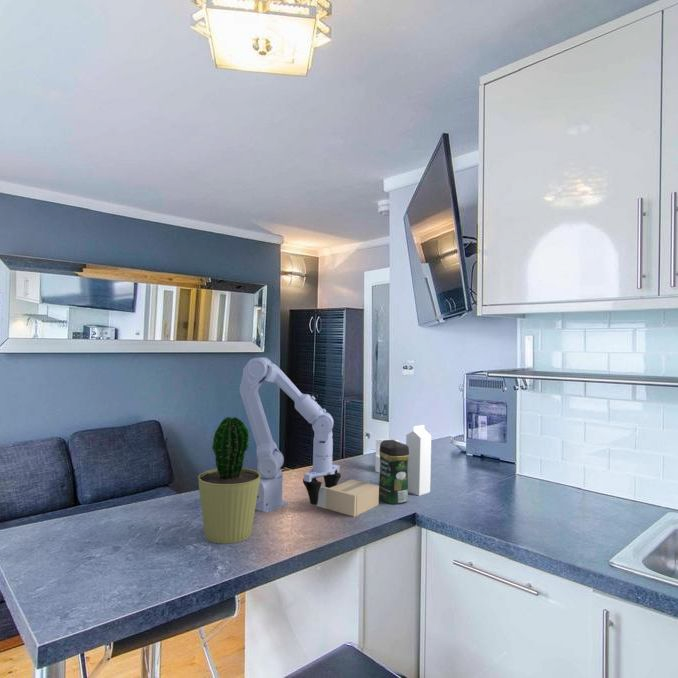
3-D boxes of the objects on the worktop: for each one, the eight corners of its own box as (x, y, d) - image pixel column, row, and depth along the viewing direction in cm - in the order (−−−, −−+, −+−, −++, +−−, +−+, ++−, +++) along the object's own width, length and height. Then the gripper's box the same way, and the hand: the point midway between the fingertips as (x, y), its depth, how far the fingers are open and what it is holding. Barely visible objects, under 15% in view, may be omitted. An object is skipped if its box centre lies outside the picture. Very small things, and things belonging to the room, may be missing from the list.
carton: (356, 516, 134) (356, 494, 134) (328, 508, 140) (328, 487, 140) (378, 505, 144) (379, 485, 144) (351, 498, 150) (351, 479, 150)
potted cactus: (195, 550, 110) (199, 420, 110) (196, 525, 125) (199, 410, 125) (262, 544, 114) (266, 419, 115) (255, 520, 129) (258, 410, 129)
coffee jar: (374, 497, 152) (375, 438, 152) (395, 494, 155) (397, 437, 155) (389, 507, 143) (391, 445, 143) (412, 503, 146) (413, 443, 146)
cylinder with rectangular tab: (372, 472, 180) (373, 441, 181) (378, 467, 189) (378, 436, 189) (396, 475, 178) (397, 443, 178) (400, 469, 186) (401, 438, 187)
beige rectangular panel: (354, 516, 133) (354, 495, 133) (315, 505, 141) (315, 485, 141) (355, 515, 134) (356, 494, 134) (316, 504, 142) (317, 485, 142)
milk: (430, 492, 158) (432, 426, 158) (418, 496, 154) (421, 427, 154) (415, 488, 162) (417, 423, 163) (404, 491, 158) (406, 425, 158)
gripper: (318, 461, 132) (317, 510, 132) (347, 452, 144) (347, 497, 144) (298, 457, 137) (297, 504, 136) (329, 448, 148) (328, 492, 148)
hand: (321, 500), depth 141 cm, fingers open, 7 cm apart
